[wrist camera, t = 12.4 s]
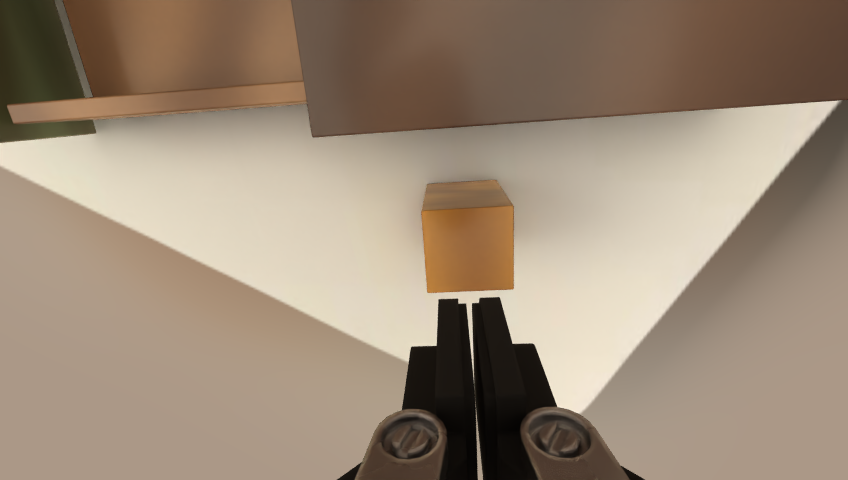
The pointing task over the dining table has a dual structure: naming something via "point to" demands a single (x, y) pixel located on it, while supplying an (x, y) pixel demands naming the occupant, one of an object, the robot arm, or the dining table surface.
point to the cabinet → (559, 59)
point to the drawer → (142, 61)
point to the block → (468, 237)
